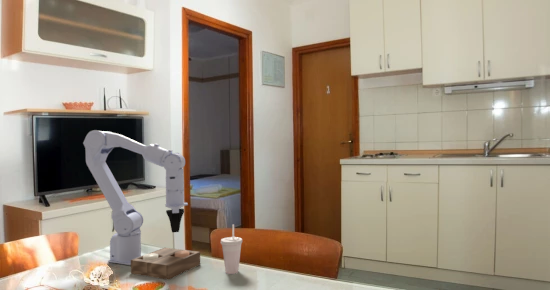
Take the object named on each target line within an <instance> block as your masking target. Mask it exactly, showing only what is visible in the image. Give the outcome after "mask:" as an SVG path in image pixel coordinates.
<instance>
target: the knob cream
mask: <svg viewBox="0 0 550 290" xmlns="http://www.w3.org/2000/svg"><path fill="white" fill-rule="evenodd" d="M150 253H151V252H150ZM142 256H143V260H150V261H152V260H154V259H157V258H158V254H155V253H151V254H149V253H146V254H143V255H142Z"/></svg>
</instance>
